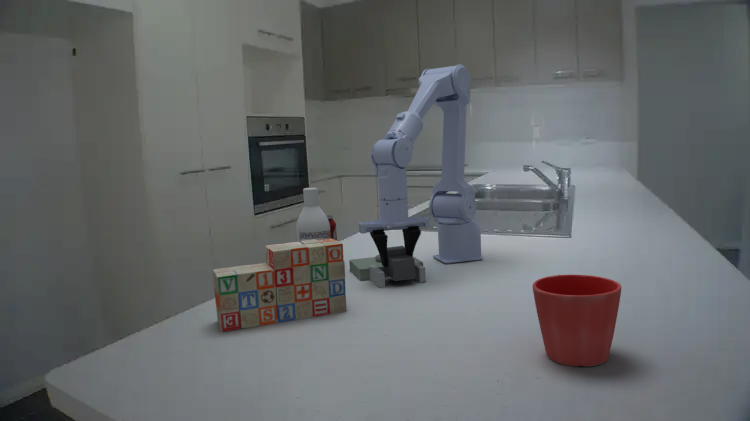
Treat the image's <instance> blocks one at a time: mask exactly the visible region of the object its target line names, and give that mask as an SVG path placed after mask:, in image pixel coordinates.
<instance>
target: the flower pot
mask: <svg viewBox="0 0 750 421" xmlns="http://www.w3.org/2000/svg"><path fill="white" fill-rule="evenodd" d="M532 292H533V293H532V294H533V299H534V304H535V310H536V314H537V315H536V316H537V319H538V324H539V329H540V332H541V337H542V342H543V344H544V345H543V346H544V350H545V355H546V356H547V357H548V358H549V359H550V360H552V361H553V362H555V363H557V364H562V365H565V366H570V367H580V366H582V367H594V366H599V365H602V364H604V363H606V362H607V361H608V359H610V358H609V357H610V352H611V348H612V344H613V340H614V335H615V329H616V323H617V318H618V312H619V308H620V302H621V295H622V285H621V283H620V282H618V281H616V280H613V279H611V278H607V277H603V276H602V277H601V276H596V275H591V274H589V275H588V274H556V275H550V276H545V277H542V278H541V277H540V278H538V279H537V280H535V281H534V282H533V283H532Z"/></svg>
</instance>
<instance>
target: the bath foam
mask: <svg viewBox="0 0 750 421" xmlns="http://www.w3.org/2000/svg"><path fill="white" fill-rule="evenodd" d="M302 192H303V193H302V194H303V204H304V206H303V208H302V210H301V212H300V213H299V216H298V218H297V220H296V224H295V226H296V227H295V236H296V242H300V241H304V240H313V239H316V240H322V239H331V232H330V224H329V221H328V218H327V217H326V215H327V214H326V213H325V212H324V210H323V209H322V208H321V207H320V204H319V190H318V188H317V187H305V188H303V189H302Z"/></svg>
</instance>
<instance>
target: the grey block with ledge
mask: <svg viewBox="0 0 750 421" xmlns="http://www.w3.org/2000/svg"><path fill="white" fill-rule="evenodd" d="M387 257H388V267H384V266H383V272H384V273H385V274H386V275H387V276H389V277H388V278H389V279H391V280H392V281H393V282H397V281H405V280H413V279H414V278H415V261H414V258H412V257H411V256H409V255H408V254H406V248H405V245H397V246H391V247H390V246H389V247H388V246H387Z"/></svg>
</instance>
